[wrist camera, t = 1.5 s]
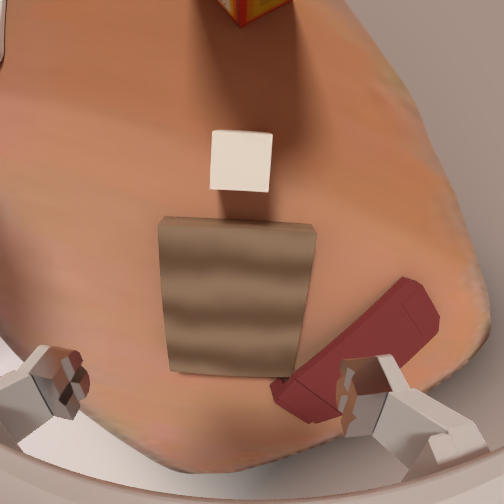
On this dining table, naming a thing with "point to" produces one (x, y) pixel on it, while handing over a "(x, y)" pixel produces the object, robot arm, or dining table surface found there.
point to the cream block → (240, 160)
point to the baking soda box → (249, 9)
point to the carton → (361, 349)
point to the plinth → (234, 294)
